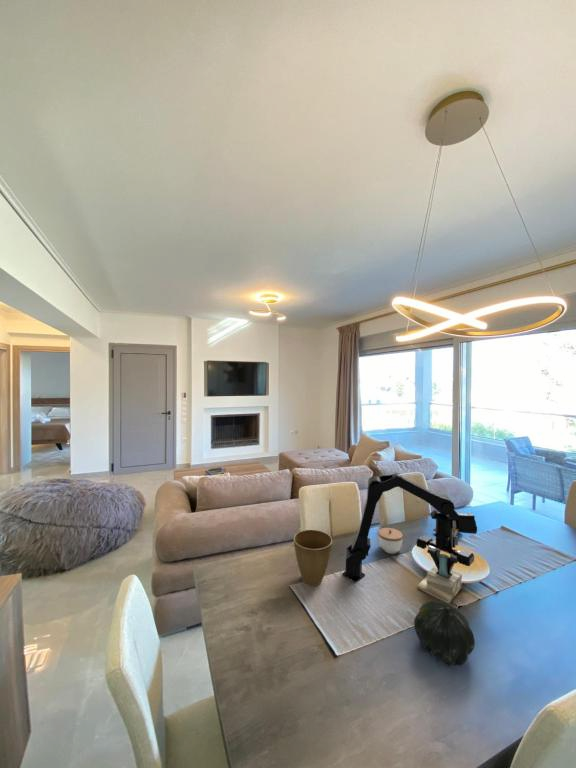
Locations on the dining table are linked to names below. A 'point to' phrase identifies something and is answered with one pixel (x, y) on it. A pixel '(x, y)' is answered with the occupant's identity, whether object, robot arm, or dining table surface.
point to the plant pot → (312, 554)
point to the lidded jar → (390, 540)
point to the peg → (443, 566)
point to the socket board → (435, 591)
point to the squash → (444, 632)
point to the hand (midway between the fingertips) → (444, 572)
